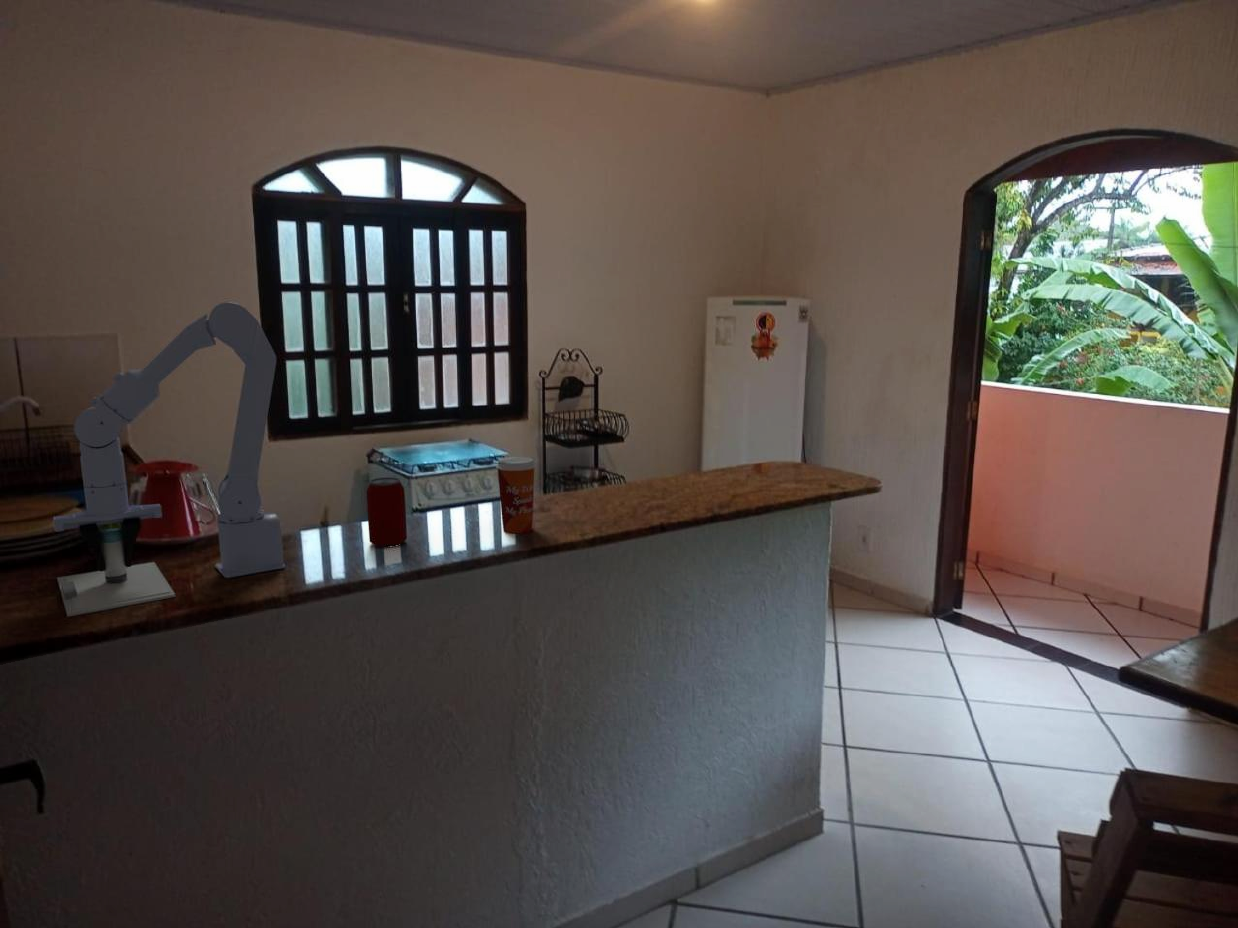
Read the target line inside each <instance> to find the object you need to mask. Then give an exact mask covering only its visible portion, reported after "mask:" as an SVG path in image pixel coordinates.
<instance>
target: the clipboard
mask: <svg viewBox="0 0 1238 928" xmlns="http://www.w3.org/2000/svg"><path fill="white" fill-rule="evenodd" d="M126 571H127V579H126V580H124V581H121V582H115V583H108V582H106V580H105V572H104V571H99V570H95V571H91V572H86V573H85V572H83V573H79V574H72V575H66V576H65V575H64V576H60V577H57V583H58V587H59V590H60V593H61V594H60V595H61V598H62V602H63V606H64V608H65V613H66V617H67V618H69V617H73V616H79V615H84V614H89V613H95V612H100V611H106V610H112V609H116V608H117V609H118V608H122V607H126V606H127V607H128V606H132V605H138V604H142V603H143V604H144V603H149V602H150V603H151V602H154V601H159V600H165V599H170V598H171V599H172V598H176V593H175V592H174V590H173V588H172V587H171V585H170V584H169V582H168V580H167V579H166V577H164V575H163V573H162V572H161V570H160V569H159V567H158V565H157V564H156V563H155V561H152V562H146V563H139V564H133V565H132V564H131V567H126Z"/></svg>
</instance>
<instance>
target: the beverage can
mask: <svg viewBox="0 0 1238 928" xmlns="http://www.w3.org/2000/svg"><path fill="white" fill-rule="evenodd" d="M366 505H367V521H368V523H367V525H368V526H367V527H368V535H369V537H368V539H369V542H370V544H372V545H374V546H375V545H376V547H377V546H378V547H379V548H391V547H390V546H395V547H397V546H396V545H398V546H400V545H402V544H403V543H404V542H405V541H407V537H408V536H407V535H408V533H407V532H408V531H407V512H406V511H407V509H406V494H405V487H404V485H403V484H402V482H401V479H400V478H397V477H378V478H374V479H371V480H370V481H369V484H368V486H367V489H366ZM401 543H402V544H401ZM399 544H400V545H399ZM378 547H377V548H378Z"/></svg>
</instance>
